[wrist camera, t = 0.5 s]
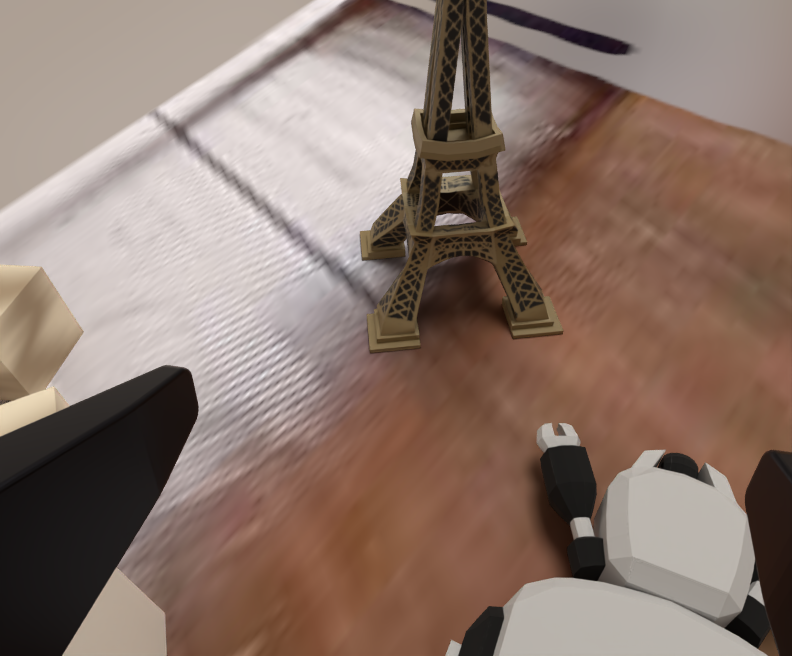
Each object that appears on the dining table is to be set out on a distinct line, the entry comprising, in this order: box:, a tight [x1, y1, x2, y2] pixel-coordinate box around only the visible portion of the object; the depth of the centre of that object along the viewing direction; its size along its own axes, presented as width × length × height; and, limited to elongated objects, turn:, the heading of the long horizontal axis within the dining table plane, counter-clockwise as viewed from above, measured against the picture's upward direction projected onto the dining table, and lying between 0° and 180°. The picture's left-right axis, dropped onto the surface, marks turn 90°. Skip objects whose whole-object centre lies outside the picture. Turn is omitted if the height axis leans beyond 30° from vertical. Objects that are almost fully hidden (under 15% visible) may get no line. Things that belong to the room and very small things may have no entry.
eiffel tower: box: [360, 0, 563, 353], centre depth 26 cm, size 11×11×25 cm
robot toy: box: [446, 423, 771, 656], centre depth 19 cm, size 12×4×15 cm
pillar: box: [62, 567, 167, 656], centre depth 16 cm, size 4×4×12 cm
